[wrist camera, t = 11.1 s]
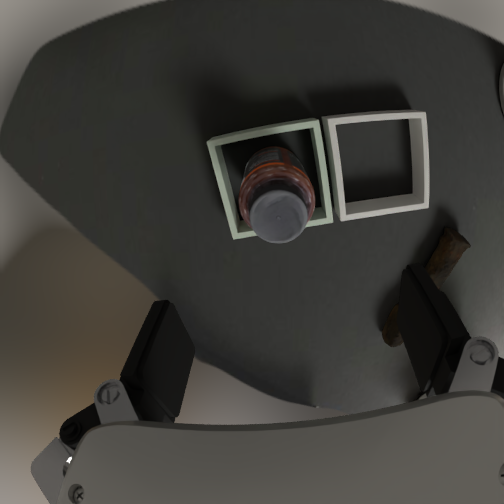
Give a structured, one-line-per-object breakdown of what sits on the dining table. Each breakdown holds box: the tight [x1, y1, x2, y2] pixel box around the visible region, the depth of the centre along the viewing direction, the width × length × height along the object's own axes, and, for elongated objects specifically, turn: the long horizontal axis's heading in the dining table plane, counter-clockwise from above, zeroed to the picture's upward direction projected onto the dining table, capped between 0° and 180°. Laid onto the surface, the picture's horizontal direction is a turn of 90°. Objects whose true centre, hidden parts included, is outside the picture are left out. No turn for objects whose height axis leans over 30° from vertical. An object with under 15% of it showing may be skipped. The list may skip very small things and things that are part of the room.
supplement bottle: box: [239, 147, 315, 243], centre depth 24 cm, size 6×6×11 cm
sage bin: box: [207, 118, 333, 239], centre depth 28 cm, size 10×10×3 cm
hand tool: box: [382, 227, 471, 347], centre depth 34 cm, size 19×4×5 cm, turn 159°
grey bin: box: [322, 110, 429, 221], centre depth 26 cm, size 10×10×3 cm
